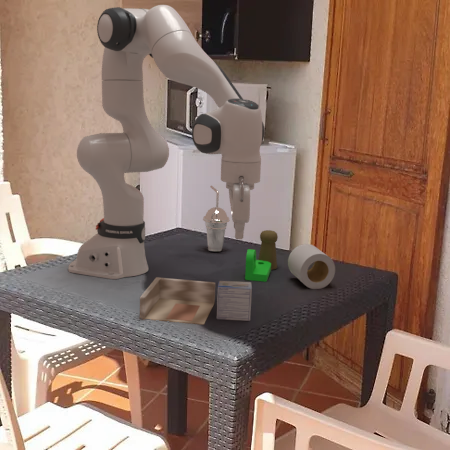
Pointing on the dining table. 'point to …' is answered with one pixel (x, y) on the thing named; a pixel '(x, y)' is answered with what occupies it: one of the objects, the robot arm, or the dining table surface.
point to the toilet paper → (318, 273)
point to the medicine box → (234, 300)
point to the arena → (178, 301)
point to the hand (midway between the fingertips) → (238, 233)
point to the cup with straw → (215, 226)
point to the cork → (268, 247)
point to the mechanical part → (256, 267)
